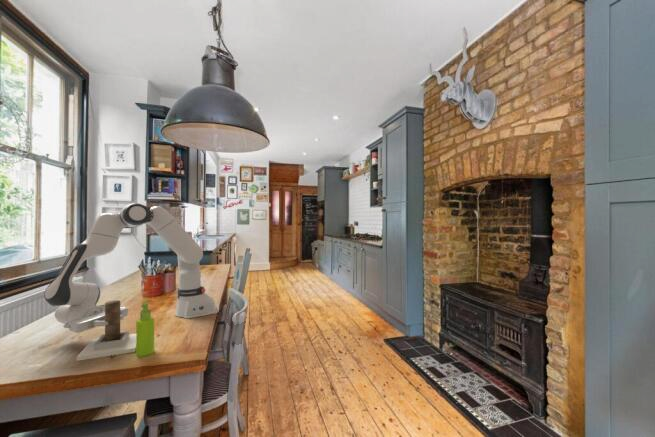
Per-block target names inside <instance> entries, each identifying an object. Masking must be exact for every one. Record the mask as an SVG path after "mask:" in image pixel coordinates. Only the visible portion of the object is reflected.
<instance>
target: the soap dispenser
mask: <svg viewBox="0 0 655 437" xmlns="http://www.w3.org/2000/svg"><path fill="white" fill-rule="evenodd" d="M141 308H142V310H140V312H139V314H140V315H139V316H140V318H138V319H137V320H136V322H135V323H136V325H135V326H136V328H135V329H136V333H135V334H136V350H135V353H136V354H135V355H136V356H137V357H147V356H150V355H152V354H153V353H154V352H155V317H153V316H151V309H149V301H143V302H142V304H141Z"/></svg>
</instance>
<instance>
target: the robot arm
mask: <svg viewBox="0 0 655 437" xmlns="http://www.w3.org/2000/svg"><path fill="white" fill-rule="evenodd" d="M144 224H145V225H147V226H150V227H151V228H152V229H153V231H154V232H155V233H156V234H157V235H158V236H159V237H160V239H162V240H163V241H164V243H165V244H166V245H167V246H168V247H169V249H171V250H172V251H173V252H174V254H176V255H177V257H176V258H177V268H178V270H177V271H178V273H177V274H178V285H177V286H178V287H177V290H176V291H177V292H176V294H177V296H176V297H177V305H176V308H175V312H174V316H175V317H178V318H184V319H193V318H200V317H204V316H211V315H216V314H218V313H219V312H220V307H219V306H218V305H217V304H216V302H215V300H214V298H213V297H212V296H211V295H209V294H208V293H206V288H205V287H204V286H202V284H201V280H202V279H201V277H202V275H201V273H202V272H201V265H200V262H201V261H202V259H203V256H204V251H203V249H202V247H201V246H200V245H199V244H198V242H197V241H196V240H195V239H194V238H193V237H192V236H191V235H190V234H189V233H188V232H187V231H186V230H185V229H184V228H183V226H182V225H181V224H180V223H179V222H178V221H177V220H176V218H175V217H174V216H173V215H172V214H171V213H170V212H168V210H166V209H165V208H164V207H163V206H160V205H155V206H151V207H149V206H146V205H145V204H141V203H137V202H135V203H130V204H127V205H125V206H123V208H122V209H121V210H120V211H118V212H117V213H112V212H104V213H101V214H99V215H98V217H97V218H96V220H95V221H94V222H93V224H92V227H91V229H90V231H89V234H88V235H87V237H86V238H85V240H83V242H81V243H78V244H77V245H75V247H73V249H72V251H71V252H70V253H69V255H68V256H67V258H66V260H65V261H64V262H63V264H62V266H61V268H60V269H59V271H58V272H57V274H56V275H55V278H54V279H53V280H52V281H51V282H50V283H49V285H48V286H47V287H46V289H45V291H44V294H43V297H44V300H45V301H46V302H47V303H48V305H50V306H52V307H57V306H58V307H57V308H56V310H55V312H54V318H55V319H56V321H57V322H58V323H61V324H63V328H66V329H68V330H69V331H70V332H73V333H77V334H78V333H82V332H86V331H88V330H91V329H93V328H97V327H105V326H106V325H108V321H106V320H105V304H99V305H97V304H98V302H99V299H100V297H101V290H100V287H99V285H98V284H96V283H93V282H83V281H82V282H81V281H73V279H74V277H75V276H76V274H77V272H78V271H79V268H80V267H81V265H82V264H83V263H84V262H85V261H87V260H88V259H91V258H94V257H95V258H96V257H100V256H106V255H108V254H110V253H112V252H113V251H114V250H115V248H116V247H117V244H118V242H119V239H120V237H121V236H120V235H121V233H122V231H123V229H134V228H138V227H141V226H142V225H144ZM128 314H129V309H128V307H127V306H121V305H120V321H123V320H124V318H125V317H127V316H128Z"/></svg>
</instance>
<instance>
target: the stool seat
mask: <svg viewBox="0 0 655 437" xmlns="http://www.w3.org/2000/svg"><path fill="white" fill-rule="evenodd" d="M129 353H136V333H131V334H130V331H120V340H114V341H107V342H105V334H101V335H100V337H99V338H93V339H91V340H90V341H89V342H88V343H87V345H86V346H85V347H84V348H83V349H82V350H81V351H80V352H79V354H78V355H76V362H78V361H84V360H86V361H87V360H90V359H91V360H92V359H97V358H105V357H110V356H111V355H112V356H116V355H117V356H118V355H123V354H129Z"/></svg>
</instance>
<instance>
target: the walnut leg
mask: <svg viewBox="0 0 655 437" xmlns="http://www.w3.org/2000/svg"><path fill="white" fill-rule="evenodd" d="M104 305H105V320H106V321H108V325H106V326H104V335H105V342H107V341H114V340H120V332H121V320H120V306H121V300H115V299H114V300H109V301H106V302H105V303H104Z"/></svg>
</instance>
